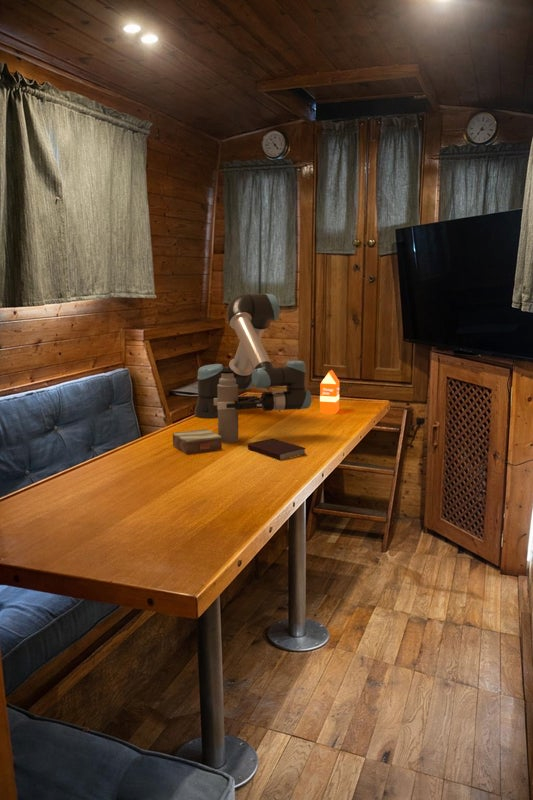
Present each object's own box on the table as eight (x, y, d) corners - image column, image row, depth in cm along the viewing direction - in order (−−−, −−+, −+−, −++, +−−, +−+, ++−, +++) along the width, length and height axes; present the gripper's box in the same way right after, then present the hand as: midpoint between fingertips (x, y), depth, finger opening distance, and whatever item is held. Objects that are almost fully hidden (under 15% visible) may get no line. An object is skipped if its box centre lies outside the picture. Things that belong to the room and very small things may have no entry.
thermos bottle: (239, 438, 261) (238, 368, 256) (237, 443, 253) (237, 371, 248) (219, 438, 261) (218, 368, 256) (217, 443, 253) (216, 371, 248)
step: (173, 445, 249) (172, 433, 248) (206, 441, 256) (206, 428, 255) (187, 454, 236) (187, 441, 236) (222, 449, 243) (222, 436, 242)
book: (279, 462, 229) (279, 453, 228) (247, 450, 244) (247, 442, 243) (306, 456, 236) (306, 447, 236) (273, 445, 251) (273, 437, 251)
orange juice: (319, 413, 308) (320, 371, 304) (323, 410, 316) (324, 369, 312) (335, 414, 305) (336, 372, 302) (339, 411, 314) (340, 370, 310)
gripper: (279, 415, 249) (220, 418, 244) (266, 405, 269) (211, 408, 264) (279, 396, 248) (220, 399, 242) (266, 387, 268) (211, 389, 262)
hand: (215, 403), depth 253 cm, fingers closed on thermos bottle, 8 cm apart
